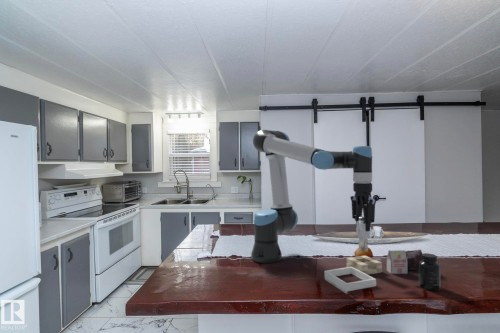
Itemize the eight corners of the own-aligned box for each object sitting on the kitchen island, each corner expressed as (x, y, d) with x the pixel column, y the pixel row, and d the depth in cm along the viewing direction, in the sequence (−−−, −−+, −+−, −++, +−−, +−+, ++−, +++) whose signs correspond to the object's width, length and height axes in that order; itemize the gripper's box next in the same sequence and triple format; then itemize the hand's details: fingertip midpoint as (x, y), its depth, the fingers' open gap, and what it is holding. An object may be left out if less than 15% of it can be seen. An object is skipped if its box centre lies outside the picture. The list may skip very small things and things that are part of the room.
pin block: (346, 269, 127) (346, 258, 127) (365, 266, 130) (365, 255, 130) (362, 277, 117) (362, 265, 117) (382, 274, 120) (381, 262, 120)
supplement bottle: (414, 284, 111) (414, 252, 111) (431, 283, 111) (431, 251, 111) (427, 291, 104) (426, 258, 104) (445, 290, 104) (444, 257, 104)
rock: (394, 269, 130) (406, 277, 120) (391, 250, 130) (402, 256, 120) (421, 264, 129) (434, 272, 119) (417, 245, 130) (430, 252, 120)
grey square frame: (324, 279, 116) (324, 270, 116) (351, 275, 120) (351, 266, 120) (346, 294, 103) (346, 284, 103) (376, 288, 107) (376, 279, 107)
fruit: (378, 261, 132) (368, 246, 133) (363, 269, 133) (353, 254, 134) (374, 256, 140) (365, 241, 140) (360, 263, 141) (351, 249, 142)
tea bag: (386, 272, 122) (386, 249, 122) (402, 272, 122) (402, 249, 122) (391, 276, 119) (390, 251, 119) (407, 276, 119) (407, 251, 118)
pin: (356, 249, 125) (356, 217, 125) (363, 248, 126) (363, 216, 126) (362, 251, 121) (362, 218, 121) (369, 251, 123) (369, 218, 122)
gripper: (384, 183, 117) (384, 241, 117) (357, 181, 132) (357, 232, 133) (369, 184, 114) (369, 243, 115) (343, 181, 130) (343, 233, 130)
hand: (363, 237), depth 124 cm, fingers closed on pin, 3 cm apart
